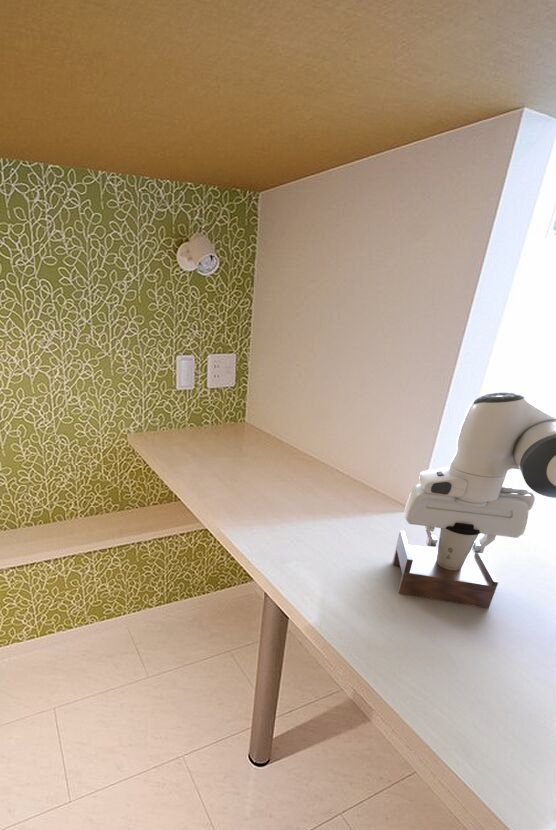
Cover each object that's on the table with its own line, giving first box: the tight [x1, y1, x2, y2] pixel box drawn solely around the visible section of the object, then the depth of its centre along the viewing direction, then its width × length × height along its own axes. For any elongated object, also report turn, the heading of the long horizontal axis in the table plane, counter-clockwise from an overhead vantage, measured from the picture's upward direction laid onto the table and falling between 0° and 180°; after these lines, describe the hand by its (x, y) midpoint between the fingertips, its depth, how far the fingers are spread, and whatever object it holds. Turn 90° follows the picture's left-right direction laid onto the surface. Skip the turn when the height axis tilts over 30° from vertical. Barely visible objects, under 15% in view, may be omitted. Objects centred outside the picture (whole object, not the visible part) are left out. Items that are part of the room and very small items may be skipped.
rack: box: [392, 530, 499, 609], centre depth 88 cm, size 16×12×8 cm
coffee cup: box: [436, 523, 481, 570], centre depth 85 cm, size 7×7×10 cm
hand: (453, 548), depth 85 cm, fingers closed on coffee cup, 7 cm apart
